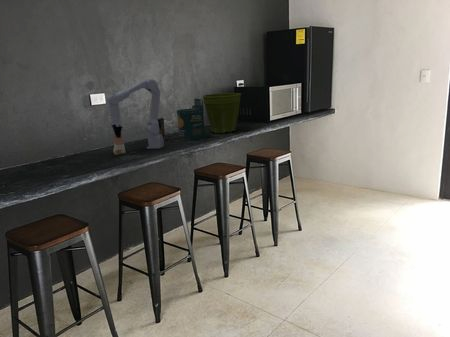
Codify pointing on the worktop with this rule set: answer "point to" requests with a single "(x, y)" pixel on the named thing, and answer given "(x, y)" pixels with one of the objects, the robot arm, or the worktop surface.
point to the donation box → (191, 122)
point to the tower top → (119, 147)
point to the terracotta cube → (118, 140)
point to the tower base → (119, 151)
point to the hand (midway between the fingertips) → (118, 136)
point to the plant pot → (222, 111)
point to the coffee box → (161, 127)
